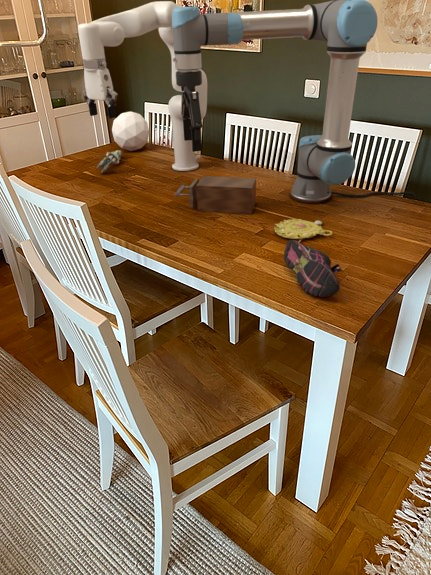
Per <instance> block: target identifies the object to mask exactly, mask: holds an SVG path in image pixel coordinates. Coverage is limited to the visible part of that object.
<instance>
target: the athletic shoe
mask: <svg viewBox="0 0 431 575" xmlns="http://www.w3.org/2000/svg"><path fill="white" fill-rule="evenodd" d="M283 252H284V253H283V261H284V262H285V265H286V266H287V267H288V268H289V269H290V270H292V271H294V272H295V274H296V277H295V279H296V281H297V283H298V285H299V286H300V287H301V289H302V290H303V291H304V292H305V293H307V294H309V295H311V296H314V297H317V296H319V298H323V297H329V296H333V295H337V293H339V291H340V289H341V285H340V282H339V280H338V278H337V277H336V274H335V273H340V272H343V273H344V270H342V267H341V265H340V264H339V263H336V264H334V265H333V266H332V260H331V258H330V256H329V255H327V254H326V253H324V252H322V251H320V250H318V249H316V248H312V247H310V246H308V245H305V244H302V243H300V242H299V241H298V240H296V239H290V240H289V241H288V242H287V243H286V244H285V249H284V251H283Z"/></svg>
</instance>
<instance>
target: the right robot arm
mask: <svg viewBox="0 0 431 575" xmlns="http://www.w3.org/2000/svg"><path fill="white" fill-rule="evenodd" d="M377 14H378V13H377V11H376V9H375V8H374V6H373V4H372V3H370V2H369V1H368V0H329V1H324V2H320V3H313V4H306V5H304V6H303V7H302V8H292V9H290V8H289V9H274V10H273V9H271V10H251V11H233V12H232V11H231V12H214V13H212V12H206V13H203V14H201V12H200V8H199V7H198V6H179V7H175V8H174V9H173V11H172V30H173V42H174V54H175V58H173V62H175V68H176V69H177V70H178V71H177V72H176V84H177V85H178V86H181V90H182V92H181V95H182V100H181V115H182V118H183V130H184V141H187V140H192V151H193V152H195V153H197V152H202V151H203V146H202V128H203V121H202V120H203V119H201V112H200V104H199V93H198V91H196V90H195V86H199V85H201V84H202V72H201V71H200V69H201V70H202V66H203V65H202V50H201V49H202V48H201V47H206V46H227V45H228V46H231V45H238V44H240V43H241V41H250V40H253V41H254V40H267V39H268V40H271V39H285V38H286V39H287V38H302V40H304V41H320V42H325V43H327V44H326V53H327V54H328V56H329V58H330V61H329V62H330V63H329V72H328V81H327V90H326V99H325V109H324V116H323V126H322V134H315V135H312V134H311V135H305V136H302V137H301V138H300V139H299V144H298V154H297V171H296V178H295V180H294V182H293V184H292V187H291V190H290V197H291V198H292V199H293V200H295V201H297V202H300V203H304V204H322V203H325V202H327V201H329V200H330V199H331V195H336V196H341V197H351V198H365V197H369V196H373V195H389V196H390V195H391V196H402V195H410V196H412V197H414V198H416V197H417V195H416V194H415V193H414V192H412V191H401V192H391V191H372V192H369V193H363V194H351V193H343V192H336V191H331V187H330V186H339V185H341V184H344V183H346V182H347V181H348V180H349V179H350V178H351V177H352V175H353V174H354V172H355V168H356V160H355V158H354V156H353V155H352V148H353V142H352V141H351V139H349V135H350V129H351V121H352V115H353V107H354V101H355V93H356V88H357V87H356V86H357V81H358V80H357V79H358V73H359V66H360V60H361V57H362V56H363V55H365V53H366V52H367V46H368V43H369V42H371V40H372V38H373V37H374V36H375V35H376V31H377V28H378V15H377ZM189 118H190V119H189Z"/></svg>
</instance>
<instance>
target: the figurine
mask: <svg viewBox="0 0 431 575" xmlns="http://www.w3.org/2000/svg"><path fill="white" fill-rule="evenodd" d="M122 153H123V152H122V150H115V151H111V152H110V151H107V152H106V153H105V155H106V156H104V157H103V158H102V159H101V161H100V162H99V163H98V165H97V167H96V169H97V170H100V173H101V174H104V173H105V172H106V171H107V170H108V169H109V168H110V167H111V166H112V165H119V164H120V160H121V158H122V157H123V154H122Z"/></svg>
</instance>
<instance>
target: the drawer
mask: <svg viewBox="0 0 431 575" xmlns="http://www.w3.org/2000/svg"><path fill="white" fill-rule="evenodd" d="M199 181H200V180H199V178H195V179H194V180H193V181H192V183H191V184H190V185H189V186H185V185H184V184H181V186H180V187H179V188H178V189H177V190H176V191H175V193H174V197H176V198H178V197H189V207H190V208H194V207H195V206H196V204H197V184H198V183H199ZM185 189H186V190H187V189H188V193H182V192H183V191H184V190H185Z"/></svg>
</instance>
